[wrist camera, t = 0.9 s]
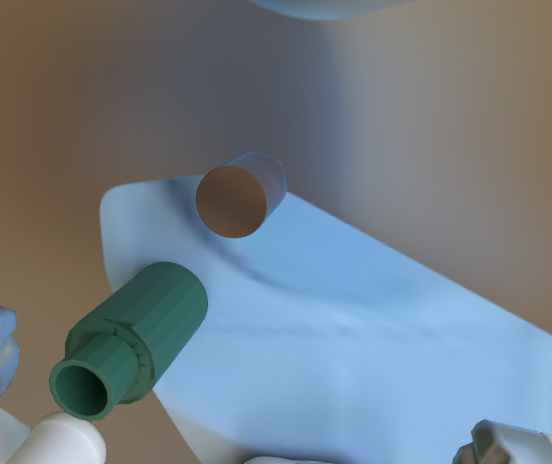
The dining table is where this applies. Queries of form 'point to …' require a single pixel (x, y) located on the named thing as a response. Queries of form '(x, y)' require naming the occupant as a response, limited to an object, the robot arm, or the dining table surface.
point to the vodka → (61, 442)
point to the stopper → (241, 194)
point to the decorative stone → (280, 461)
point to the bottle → (128, 341)
